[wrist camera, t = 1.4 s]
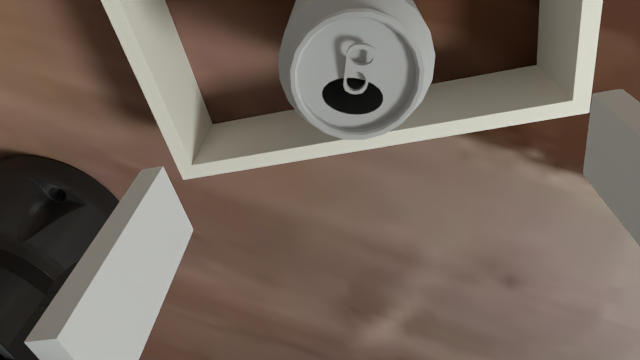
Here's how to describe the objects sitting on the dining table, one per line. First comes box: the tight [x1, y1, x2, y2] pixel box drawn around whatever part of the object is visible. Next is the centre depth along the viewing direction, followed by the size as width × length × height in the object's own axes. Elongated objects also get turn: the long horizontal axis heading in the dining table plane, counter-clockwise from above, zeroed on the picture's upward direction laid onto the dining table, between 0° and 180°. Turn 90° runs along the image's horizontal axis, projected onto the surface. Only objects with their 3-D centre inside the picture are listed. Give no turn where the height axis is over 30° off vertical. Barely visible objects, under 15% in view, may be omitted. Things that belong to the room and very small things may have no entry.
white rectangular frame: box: [101, 0, 603, 180], centre depth 28 cm, size 26×14×6 cm, turn 102°
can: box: [278, 0, 435, 140], centre depth 25 cm, size 8×8×12 cm
